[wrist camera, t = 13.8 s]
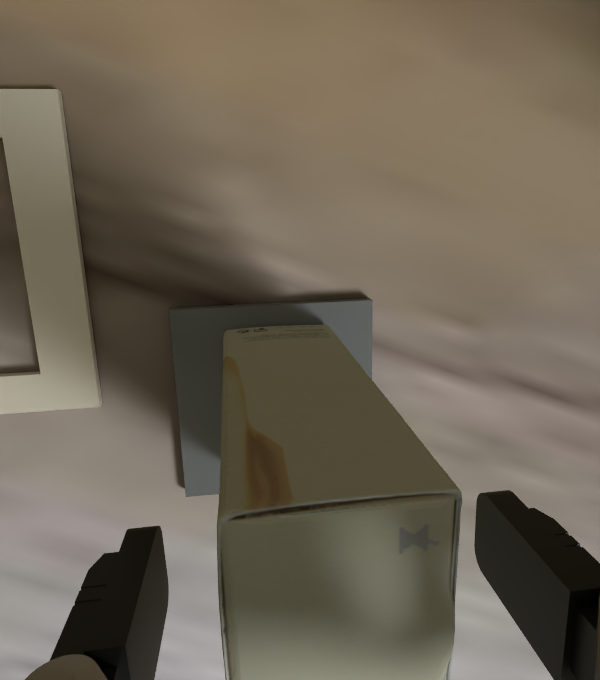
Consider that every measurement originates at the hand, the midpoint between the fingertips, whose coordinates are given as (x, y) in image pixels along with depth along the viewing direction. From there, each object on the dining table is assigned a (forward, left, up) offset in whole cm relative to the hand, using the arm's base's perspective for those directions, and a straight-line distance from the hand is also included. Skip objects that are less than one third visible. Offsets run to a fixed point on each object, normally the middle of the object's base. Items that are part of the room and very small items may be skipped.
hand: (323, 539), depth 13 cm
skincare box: (0, 0, -9) cm, 9 cm away
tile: (0, -1, -9) cm, 9 cm away
